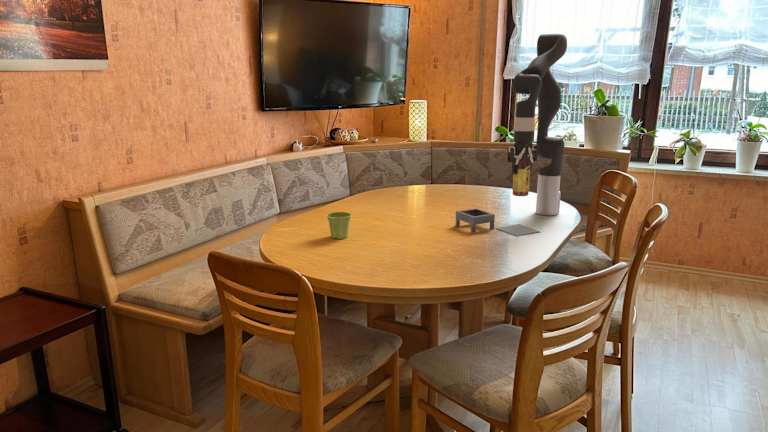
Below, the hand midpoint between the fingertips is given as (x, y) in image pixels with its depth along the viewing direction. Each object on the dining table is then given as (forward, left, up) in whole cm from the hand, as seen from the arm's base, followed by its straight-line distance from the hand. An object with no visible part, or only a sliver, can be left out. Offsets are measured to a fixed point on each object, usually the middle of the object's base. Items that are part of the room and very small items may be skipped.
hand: (521, 173), depth 221 cm
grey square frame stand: (+12, -12, -23) cm, 28 cm away
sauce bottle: (0, 0, -9) cm, 9 cm away
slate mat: (0, 0, -23) cm, 23 cm away
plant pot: (+65, -26, -23) cm, 74 cm away
